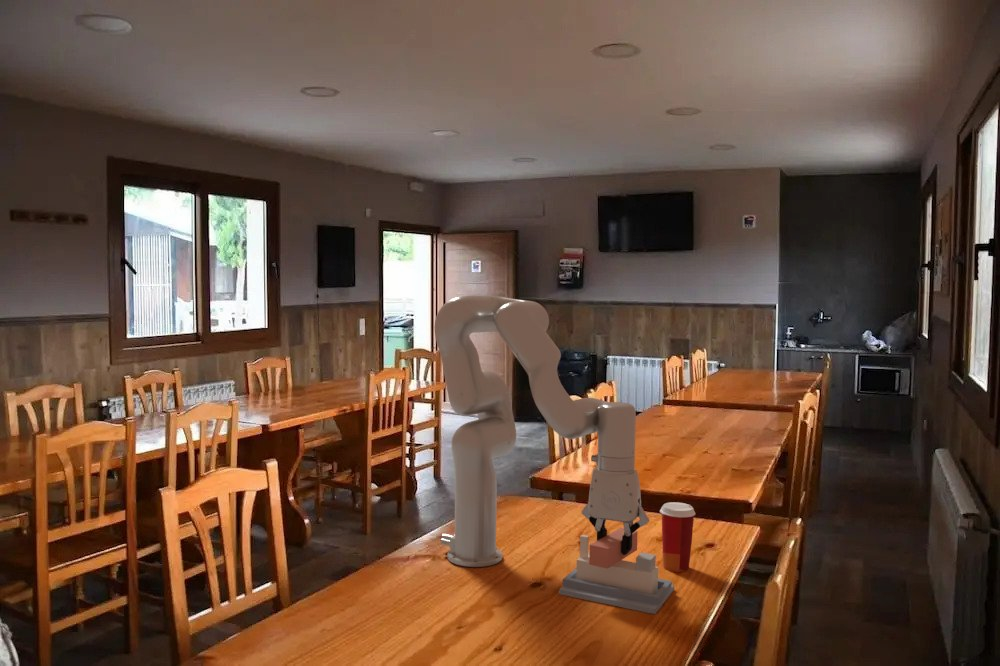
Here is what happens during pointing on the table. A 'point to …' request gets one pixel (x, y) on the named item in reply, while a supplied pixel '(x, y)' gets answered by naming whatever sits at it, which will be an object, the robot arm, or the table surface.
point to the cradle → (616, 594)
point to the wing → (610, 549)
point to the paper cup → (677, 535)
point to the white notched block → (619, 571)
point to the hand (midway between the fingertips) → (614, 550)
